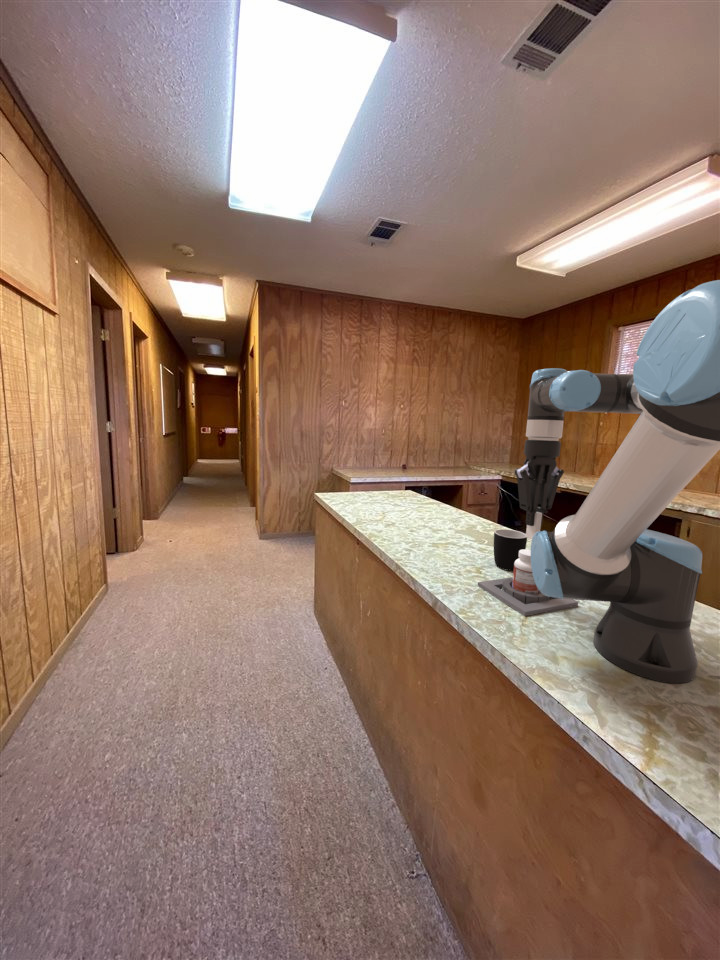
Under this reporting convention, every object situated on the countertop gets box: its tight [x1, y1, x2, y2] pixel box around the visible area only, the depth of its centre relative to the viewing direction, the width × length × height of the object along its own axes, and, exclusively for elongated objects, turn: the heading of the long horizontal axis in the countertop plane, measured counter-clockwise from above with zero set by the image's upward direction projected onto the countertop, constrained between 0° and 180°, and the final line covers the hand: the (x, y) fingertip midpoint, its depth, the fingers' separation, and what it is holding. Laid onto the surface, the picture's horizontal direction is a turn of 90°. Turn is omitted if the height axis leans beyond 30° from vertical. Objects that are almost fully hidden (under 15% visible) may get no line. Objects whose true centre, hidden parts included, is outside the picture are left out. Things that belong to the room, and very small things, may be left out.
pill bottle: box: [512, 549, 539, 594], centre depth 92 cm, size 6×6×11 cm
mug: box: [493, 528, 528, 571], centre depth 112 cm, size 12×9×10 cm
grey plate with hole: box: [477, 576, 579, 617], centre depth 93 cm, size 16×16×2 cm
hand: (532, 538), depth 90 cm, fingers closed
